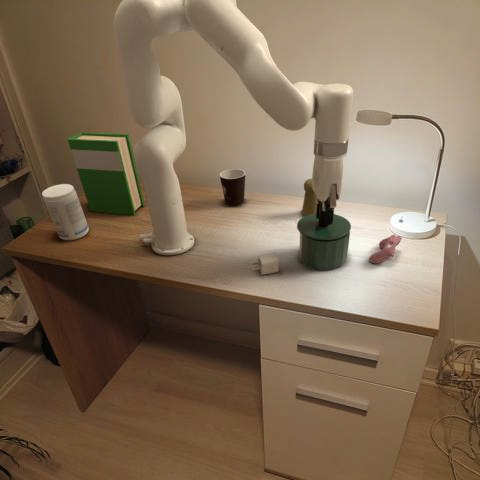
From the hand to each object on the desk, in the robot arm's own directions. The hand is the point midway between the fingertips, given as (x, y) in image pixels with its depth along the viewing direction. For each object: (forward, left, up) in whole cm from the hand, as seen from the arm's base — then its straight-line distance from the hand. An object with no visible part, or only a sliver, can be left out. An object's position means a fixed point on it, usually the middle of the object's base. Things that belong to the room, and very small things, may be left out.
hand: (324, 220), depth 106 cm
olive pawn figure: (+3, +26, -11) cm, 28 cm away
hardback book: (-61, +46, -11) cm, 77 cm away
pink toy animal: (+16, -3, -11) cm, 20 cm away
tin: (0, 0, -11) cm, 11 cm away
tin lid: (0, 0, -2) cm, 2 cm away
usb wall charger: (-16, -4, -11) cm, 20 cm away
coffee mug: (-20, +42, -11) cm, 48 cm away
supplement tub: (-73, +30, -11) cm, 79 cm away
